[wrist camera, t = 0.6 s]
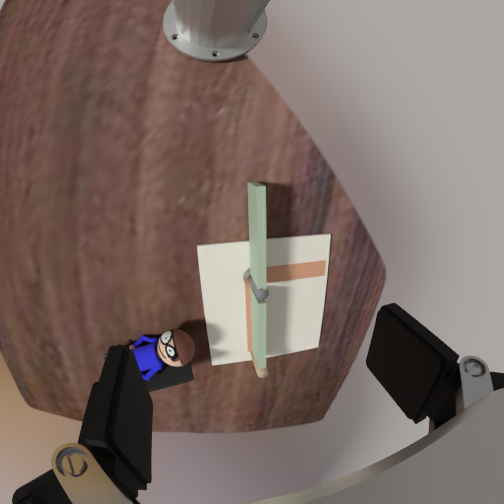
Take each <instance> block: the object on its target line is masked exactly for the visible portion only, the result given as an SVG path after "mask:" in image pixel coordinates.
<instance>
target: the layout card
mask: <svg viewBox="0 0 504 504" xmlns="http://www.w3.org/2000/svg"><path fill="white" fill-rule="evenodd" d="M330 238H331V234H330V233H328V234H316V235H304V236H292V237H280V238H269V239H266V288H267V289H268V291H269V295H268V297H267V298H266V299H265V301H266V357H272V356H277V355H283V354H288V353H293V352H298V351H303V350H307V349H312V348H316V347H318V346H319V339H320V332H321V325H322V317H323V310H324V301H325V293H326V283H327V274H328V263H329V251H330ZM197 250H198V260H199V269H200V279H201V287H202V296H203V304H204V312H205V319H206V326H207V334H208V341H209V347H210V354H211V360H212V365H219V364H227V363H234V362H241V361H248V360H252V356H251V353H250V351H251V350H252V328H251V295H250V286H251V284H250V282H249V280H248V276H249V275H250V248H249V240H246V241H235V242H224V243H214V244H203V245H197Z"/></svg>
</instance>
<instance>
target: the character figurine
mask: <svg viewBox="0 0 504 504" xmlns="http://www.w3.org/2000/svg"><path fill="white" fill-rule="evenodd" d="M144 341H147V342H150V343H151V344H148V345H145V346H141V347H138V346H139V345H140V344H141V343H143V342H144ZM118 346H120V344H118ZM137 347H138V348H137ZM129 349H132V350H133V352H134V355H135V358H136V361H137V363H138V366H139V369H140V371H141V374H142V377H143V379H144V382H145V384H146V387H147V389H148V392H151V391H155V390H159V389H163V388H167V387H171V386H174V385H178V384H182V383H185V382H189V381H192V380H194V377H193V373H192V368H191V364H190V361H191V359H192V358H193V356H194V352H195V346H194V342H193V340H192V338H191V337H190V336H189V335H188V334H187V333H186V332H184V331H182V330H179V329H171V330H168V331H166V332H165V333H163V334H162V335H161V337H160V339H159V340H158V339H157V338H153V339H152V338H150V337H147V336H144V335H142V336H141V338H139V339H138V340H137V341H136V342H135V343H134V344H133V345H130V346H129ZM107 354H108V353H106V354H104V355H103V356H102V358H104V359H105V360H106V357H107ZM102 369H103V368H102ZM102 369H101V370H102Z"/></svg>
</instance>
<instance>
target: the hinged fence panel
mask: <svg viewBox="0 0 504 504" xmlns="http://www.w3.org/2000/svg"><path fill="white" fill-rule="evenodd" d="M248 211H249V248H250V275H249V276H248V280H249V282H250V284H251V287H252V289H253V291H254V293H255V295H256V297H257V299H259V300H264V299H266V298H267V297H268V295H269V291H268V289H267V288H266V186H264V185H262V184H260V183H258V182H248Z"/></svg>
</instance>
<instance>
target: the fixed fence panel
mask: <svg viewBox="0 0 504 504" xmlns="http://www.w3.org/2000/svg"><path fill="white" fill-rule="evenodd" d="M250 295H251V328H252V350H251V351H250V353H251V356H252V360H253V363H254V366H255V369H256V372H257V375H258V377H260V378H264V377H266V376H268V374H269V372H268V370H267V367H266V301H265V299H264V300H259V299H257V297H256V295H255V293H254V291H253V289H252V287H251V286H250Z"/></svg>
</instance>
